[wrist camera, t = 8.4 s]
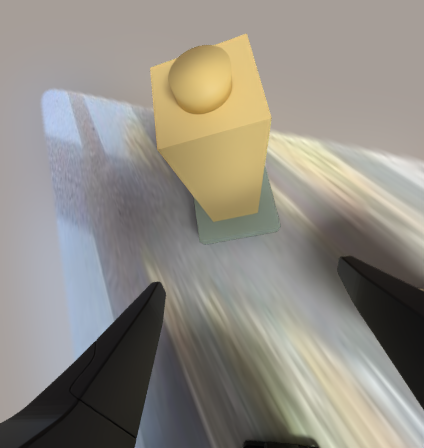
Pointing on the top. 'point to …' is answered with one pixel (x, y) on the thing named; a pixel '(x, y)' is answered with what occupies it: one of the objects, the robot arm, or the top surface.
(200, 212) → the plinth brick
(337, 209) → the top surface
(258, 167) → the tower brick
